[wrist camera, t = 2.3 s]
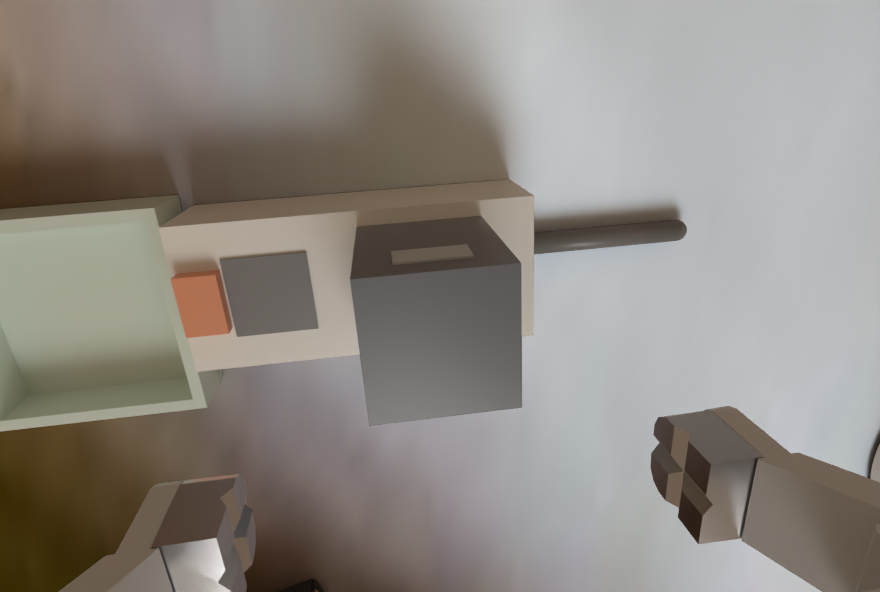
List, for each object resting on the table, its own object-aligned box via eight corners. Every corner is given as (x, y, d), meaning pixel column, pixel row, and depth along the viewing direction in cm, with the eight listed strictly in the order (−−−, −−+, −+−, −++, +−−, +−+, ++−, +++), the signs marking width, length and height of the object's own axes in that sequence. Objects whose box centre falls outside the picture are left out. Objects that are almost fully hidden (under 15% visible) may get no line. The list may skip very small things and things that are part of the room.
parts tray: (178, 194, 23) (154, 208, 20) (223, 376, 26) (207, 407, 23) (-47, 213, 22) (-101, 228, 19) (30, 398, 25) (-9, 432, 23)
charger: (468, 199, 23) (521, 260, 15) (472, 302, 25) (521, 407, 17) (358, 208, 23) (349, 276, 14) (370, 312, 24) (369, 425, 16)
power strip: (686, 164, 25) (751, 180, 20) (673, 284, 27) (729, 320, 23) (193, 205, 23) (151, 231, 19) (222, 330, 25) (192, 379, 21)
